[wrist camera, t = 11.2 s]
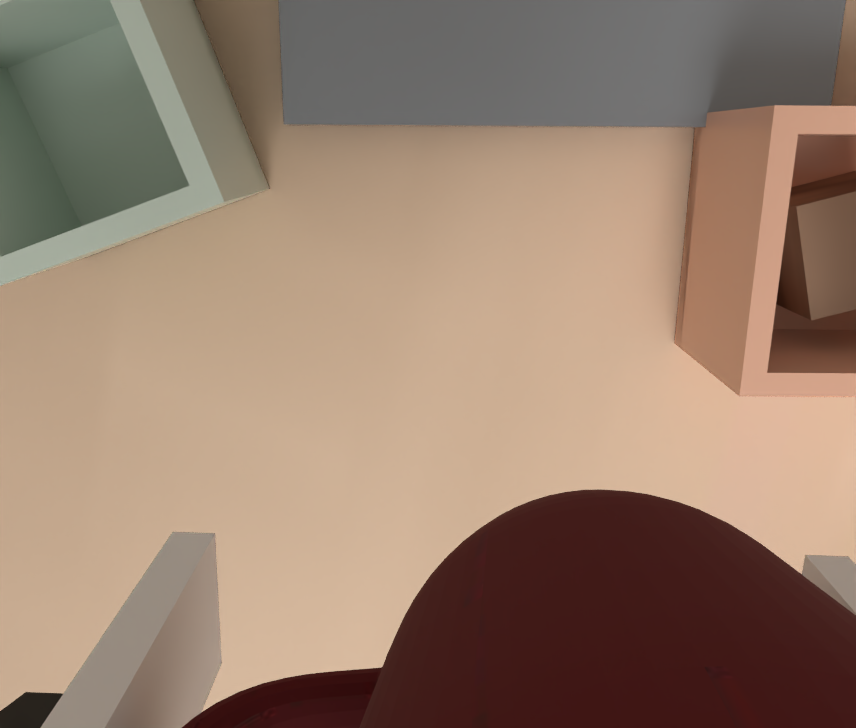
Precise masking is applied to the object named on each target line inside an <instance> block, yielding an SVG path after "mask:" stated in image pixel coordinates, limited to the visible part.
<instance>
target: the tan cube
mask: <svg viewBox="0 0 856 728" xmlns="http://www.w3.org/2000/svg"><path fill="white" fill-rule="evenodd" d="M776 304H777V305H779V306H781V307H783V308H785V309H788V310H790V311H792V312H794V313H796V314H798V315H800V316H803V317H805V318H807V319H809V320H815V319H819V318H823V317H827V316H832V315H836V314H840V313H844V312H848V311H852V310H856V171H853V172H849V173H845V174H841V175H837V176H833V177H830V178H826V179H822V180H818V181H814V182H810V183H806V184H802V185H799V186H795V187H791V193H790V200H789V208H788V216H787V224H786V231H785V239H784V247H783V254H782V262H781V270H780V277H779V285H778V293H777V301H776Z"/></svg>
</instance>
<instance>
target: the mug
mask: <svg viewBox="0 0 856 728" xmlns="http://www.w3.org/2000/svg"><path fill="white" fill-rule="evenodd" d="M182 728H856V615H855V614H853V613H852V612H851V611H849V610H848V609H847V608H845V607H844V606H843V605H841V604H840V603H839V602H837V601H836V600H835V599H833V598H832V597H831V596H829V595H828V594H827V593H825V592H824V591H823V590H821V589H820V588H819V587H817V586H816V585H815V584H813V583H812V582H811V581H810V580H808V579H807V578H806V577H804V576H803V575H802V574H800V573H799V572H798V571H796V570H795V569H794V568H792V567H791V566H790V565H788V564H787V563H786V562H784V561H783V560H782V559H780V558H779V557H778V556H776V555H775V554H774V553H772V552H771V551H770V550H768V549H767V548H766V547H764V546H763V545H762V544H760V543H759V542H757V541H756V540H754V539H753V538H751V537H750V536H748V535H747V534H745V533H743V532H742V531H740V530H738V529H737V528H735V527H733V526H732V525H730V524H728V523H726V522H724V521H722V520H720V519H718V518H716V517H714V516H711V515H709V514H707V513H705V512H703V511H701V510H699V509H696V508H693V507H691V506H688V505H685V504H682V503H679V502H676V501H672V500H668V499H664V498H660V497H656V496H652V495H648V494H642V493H635V492H628V491H614V490H580V491H571V492H564V493H559V494H554V495H550V496H546V497H543V498H539V499H536V500H533V501H530V502H528V503H525V504H523V505H520V506H518V507H515V508H513V509H512V510H510V511H508V512H506V513H504V514H502V515H500V516H498V517H497V518H495V519H494V520H492V521H491V522H489V523H487V524H486V525H484V526H483V527H481V528H480V529H479V530H477V531H476V532H475V533H473V534H472V535H471V536H469V537H468V538H467V539H466V540H464V541H463V542H462V543H461V544H460V545H459V546H458V547H457V548H456V549H455V550H454V551H453V552H452V553H450V554H449V555H448V556H447V557H446V558H445V559H444V561H443V562H442V563H441V564H440V565H439V566H438V567H437V569H436V570H435V571H434V572H433V573H432V574H431V576H430V577H429V578H428V580H427V581H426V583H425V584H424V586H423V587H422V588H421V590H420V591H419V593H418V594H417V596H416V597H415V599H414V600H413V602H412V604H411V606H410V608H409V609H408V611H407V613H406V615H405V617H404V619H403V621H402V623H401V625H400V627H399V629H398V632H397V634H396V636H395V638H394V641H393V643H392V645H391V647H390V650H389V652H388V654H387V657H386V660H385V662H384V665H383V667H382V668H373V669H360V670H347V671H334V672H324V673H315V674H307V675H301V676H295V677H288V678H284V679H280V680H276V681H271V682H267V683H263V684H260V685H257V686H255V687H252V688H249V689H246V690H243V691H241V692H238V693H236V694H234V695H232V696H230V697H228V698H226V699H224V700H222V701H220V702H218V703H216V704H214V705H213V706H211V707H209V708H208V709H206V710H205V711H203V712H202V713H200V714H199V715H197V716H195V717H194V718H193V719H191V720H190V721H189V722H188V723H187V724H185V725H184V726H183V727H182Z"/></svg>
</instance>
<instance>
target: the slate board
mask: <svg viewBox="0 0 856 728" xmlns="http://www.w3.org/2000/svg"><path fill="white" fill-rule="evenodd" d="M845 3H846V0H279V23H280V46H281V70H282V94H283V117H284V124H285V125H363V126H520V127H677V128H697V127H706V118H707V113H709V112H718V111H727V110H737V109H746V108H755V107H764V106H774V105H794V106H831V103H832V96H833V89H834V82H835V75H836V67H837V60H838V53H839V46H840V39H841V32H842V24H843V17H844V10H845Z"/></svg>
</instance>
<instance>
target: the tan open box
mask: <svg viewBox="0 0 856 728" xmlns="http://www.w3.org/2000/svg"><path fill="white" fill-rule="evenodd" d="M853 171H856V106H794V105H774V106H764V107H755V108H746V109H737V110H727V111H718V112H709V113H707V118H706V127H697V128H695V132H694V143H693V153H692V164H691V174H690V185H689V195H688V206H687V216H686V227H685V237H684V248H683V259H682V269H681V280H680V290H679V301H678V311H677V322H676V332H675V344H676V345H677V346H679V347H680V348H681V349H682V350H683V351H685V352H686V353H687V354H688V355H690V356H691V357H692V358H693V359H694V360H696V361H697V362H698V363H699V364H701V365H702V366H703V367H704V368H705V369H707V370H708V371H709V372H710V373H712V374H713V375H714V376H715V377H717V378H718V379H719V380H720V381H721V382H723V383H724V384H725V385H726V386H728V387H729V388H730V389H731V390H732V391H734V392H735V393H736V394H737V395H739V396H781V397H856V310H852V311H848V312H844V313H840V314H836V315H832V316H827V317H823V318H819V319H815V320H809V319H807V318H805V317H803V316H800V315H798V314H796V313H794V312H792V311H790V310H788V309H785V308H783V307H781V306H779V305H777V304H776V301H777V293H778V285H779V277H780V270H781V262H782V254H783V247H784V239H785V231H786V224H787V216H788V208H789V200H790V193H791V187H795V186H799V185H802V184H806V183H810V182H814V181H818V180H822V179H826V178H830V177H833V176H837V175H841V174H845V173H849V172H853Z"/></svg>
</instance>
